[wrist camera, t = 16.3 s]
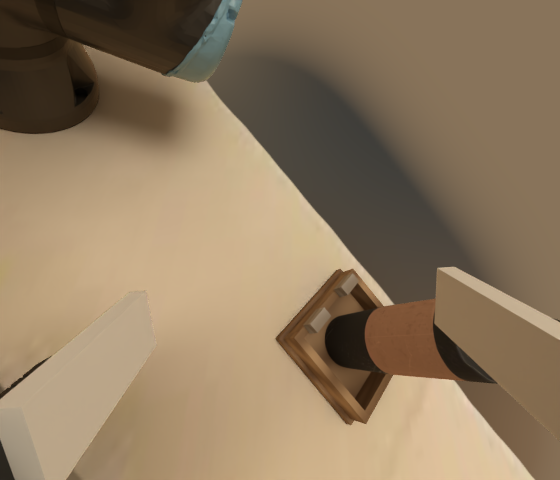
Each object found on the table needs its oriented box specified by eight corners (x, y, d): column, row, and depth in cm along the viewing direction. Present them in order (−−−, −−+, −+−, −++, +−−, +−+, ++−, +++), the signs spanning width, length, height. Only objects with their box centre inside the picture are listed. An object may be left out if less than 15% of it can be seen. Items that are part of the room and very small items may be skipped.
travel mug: (371, 328, 45) (516, 315, 28) (359, 379, 41) (518, 400, 24) (331, 304, 43) (461, 275, 26) (315, 355, 39) (454, 361, 22)
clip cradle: (275, 338, 39) (296, 337, 34) (336, 270, 47) (360, 260, 42) (346, 423, 39) (376, 434, 34) (395, 341, 47) (425, 340, 42)
